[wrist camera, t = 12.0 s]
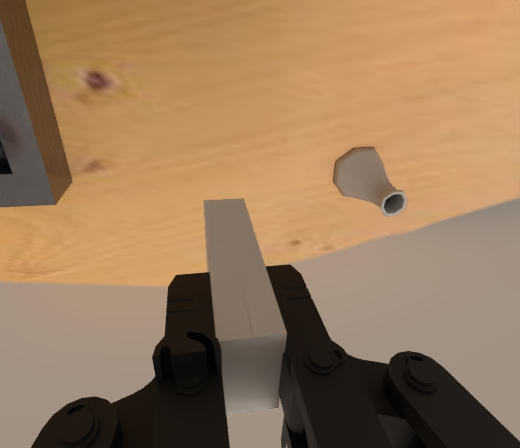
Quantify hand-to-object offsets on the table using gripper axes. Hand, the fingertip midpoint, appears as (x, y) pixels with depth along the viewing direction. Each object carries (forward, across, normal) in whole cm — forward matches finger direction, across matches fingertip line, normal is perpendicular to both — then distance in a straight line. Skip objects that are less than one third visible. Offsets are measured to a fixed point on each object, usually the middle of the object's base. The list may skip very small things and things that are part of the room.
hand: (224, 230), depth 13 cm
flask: (+30, +21, -10) cm, 38 cm away
